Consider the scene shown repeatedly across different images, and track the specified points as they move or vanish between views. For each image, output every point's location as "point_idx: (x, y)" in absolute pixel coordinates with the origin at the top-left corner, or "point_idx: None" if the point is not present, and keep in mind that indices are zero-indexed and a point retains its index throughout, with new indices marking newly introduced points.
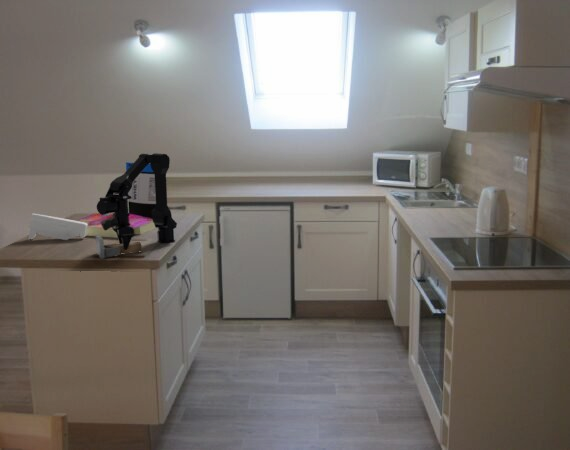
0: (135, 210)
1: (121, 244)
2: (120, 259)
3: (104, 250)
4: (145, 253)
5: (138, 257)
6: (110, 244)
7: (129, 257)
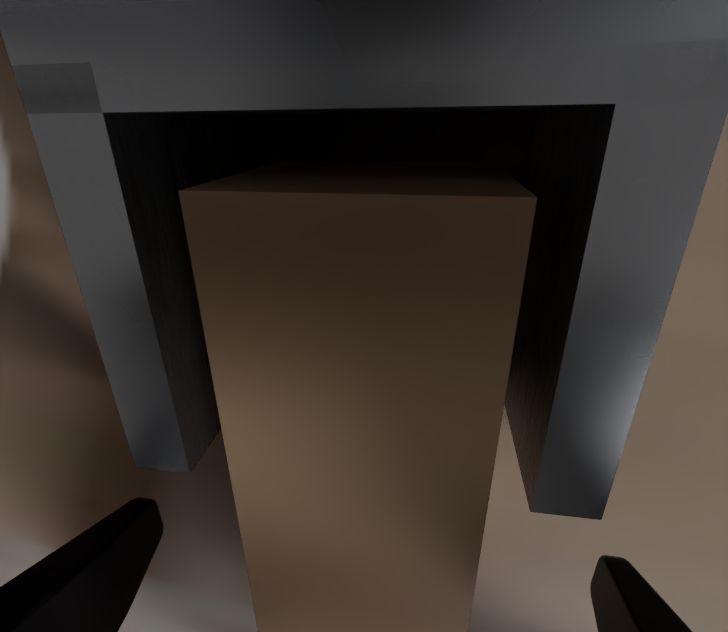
0: None
1: (380, 574)
2: (6, 313)
3: (50, 60)
4: (247, 615)
5: (82, 514)
6: (612, 380)
7: (100, 440)
